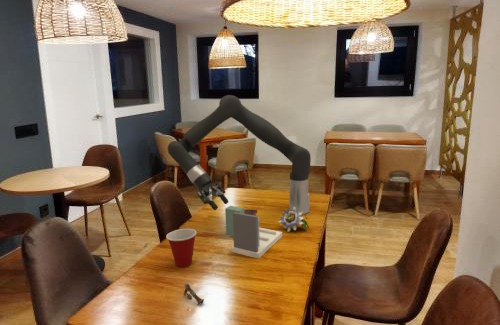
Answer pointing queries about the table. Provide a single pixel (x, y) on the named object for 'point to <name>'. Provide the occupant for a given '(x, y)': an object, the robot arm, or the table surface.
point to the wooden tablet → (250, 212)
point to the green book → (231, 218)
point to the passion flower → (293, 219)
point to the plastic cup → (182, 246)
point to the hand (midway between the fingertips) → (222, 205)
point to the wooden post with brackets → (192, 294)
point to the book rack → (252, 236)
